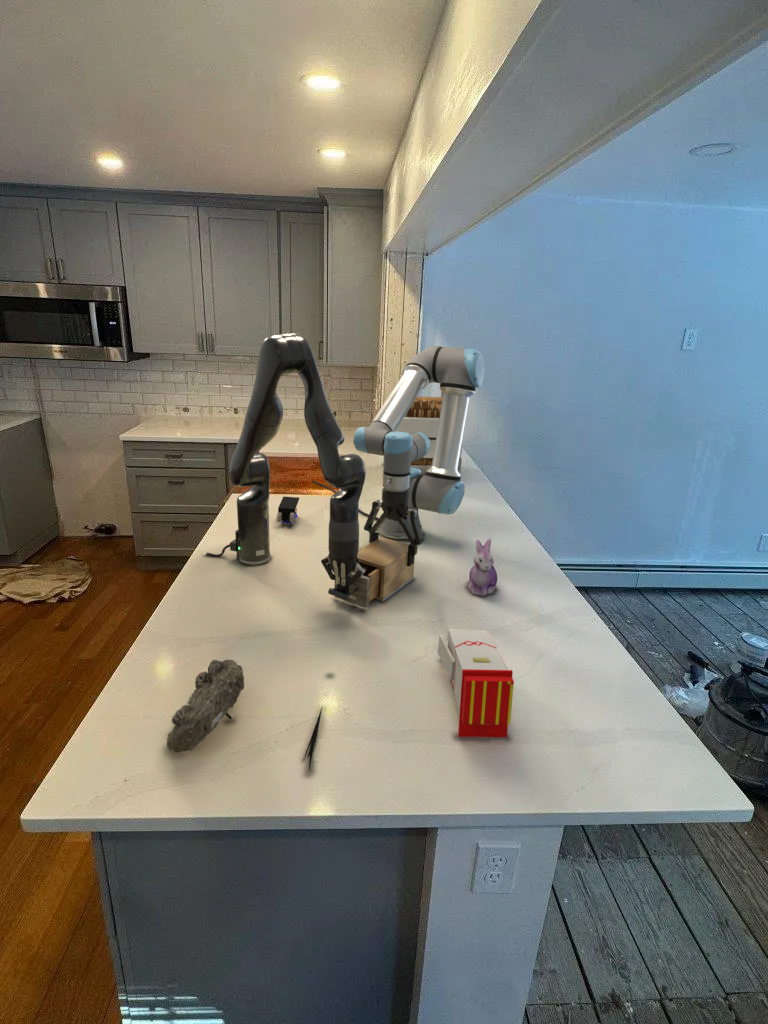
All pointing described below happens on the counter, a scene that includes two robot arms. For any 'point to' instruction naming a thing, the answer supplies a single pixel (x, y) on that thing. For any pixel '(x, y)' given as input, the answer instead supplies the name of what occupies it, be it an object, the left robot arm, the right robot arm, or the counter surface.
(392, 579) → the cabinet
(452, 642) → the toy
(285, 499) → the figurine character
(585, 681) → the counter surface
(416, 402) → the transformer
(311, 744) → the feather
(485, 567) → the figurine
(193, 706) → the fossil
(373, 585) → the drawer
